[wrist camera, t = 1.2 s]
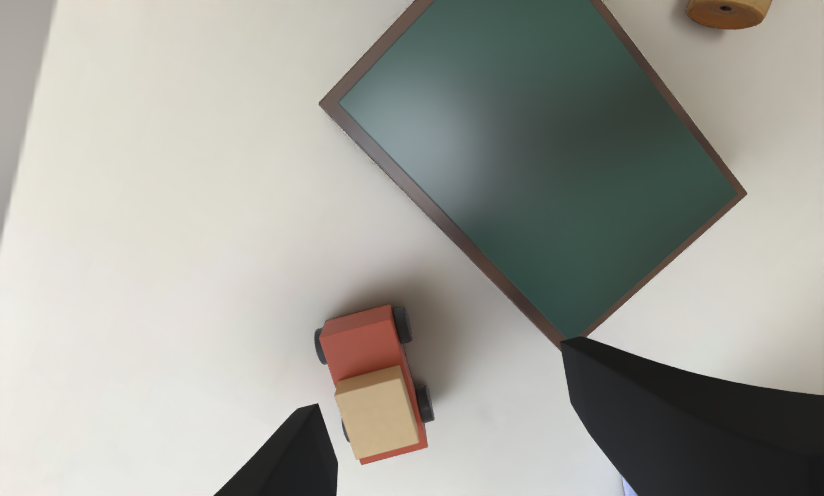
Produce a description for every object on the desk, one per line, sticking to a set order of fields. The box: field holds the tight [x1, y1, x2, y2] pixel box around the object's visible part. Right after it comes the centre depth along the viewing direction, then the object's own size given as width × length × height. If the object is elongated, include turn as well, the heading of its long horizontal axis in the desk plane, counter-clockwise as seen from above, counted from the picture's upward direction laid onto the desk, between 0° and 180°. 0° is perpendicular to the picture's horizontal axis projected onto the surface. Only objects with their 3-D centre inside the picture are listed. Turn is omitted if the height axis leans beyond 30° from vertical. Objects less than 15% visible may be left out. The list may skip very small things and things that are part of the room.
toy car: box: [314, 304, 434, 465], centre depth 19 cm, size 7×5×4 cm, turn 14°
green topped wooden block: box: [319, 0, 747, 352], centre depth 18 cm, size 16×11×3 cm
